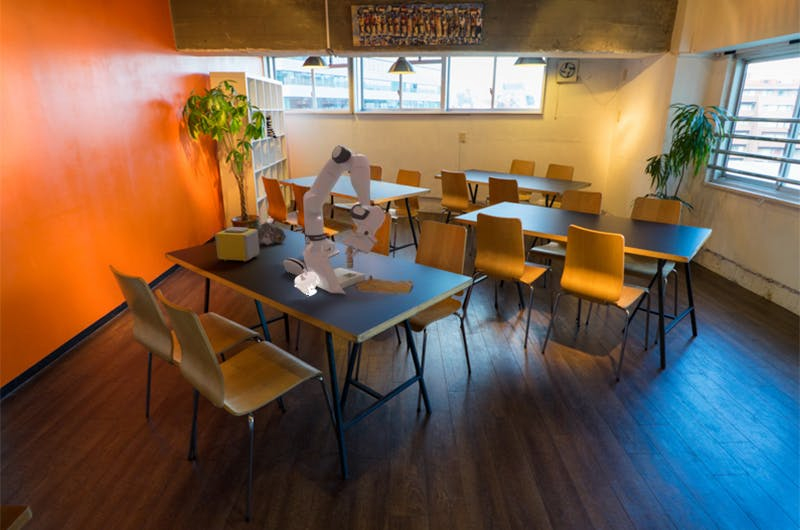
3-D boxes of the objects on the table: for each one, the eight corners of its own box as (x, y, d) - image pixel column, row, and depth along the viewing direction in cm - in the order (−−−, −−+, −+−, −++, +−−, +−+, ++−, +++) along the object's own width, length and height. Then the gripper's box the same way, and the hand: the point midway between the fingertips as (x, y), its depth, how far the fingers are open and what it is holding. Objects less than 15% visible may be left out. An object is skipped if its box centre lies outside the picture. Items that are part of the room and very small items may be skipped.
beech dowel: (350, 265, 234) (349, 245, 231) (354, 266, 232) (354, 246, 229) (345, 267, 232) (344, 247, 229) (350, 268, 230) (349, 248, 227)
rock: (267, 221, 292) (265, 212, 304) (252, 237, 294) (251, 228, 306) (289, 237, 302) (286, 228, 314) (275, 253, 304) (273, 243, 316)
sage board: (340, 272, 246) (340, 267, 245) (364, 279, 236) (364, 274, 235) (315, 281, 233) (314, 275, 232) (340, 289, 222) (339, 283, 221)
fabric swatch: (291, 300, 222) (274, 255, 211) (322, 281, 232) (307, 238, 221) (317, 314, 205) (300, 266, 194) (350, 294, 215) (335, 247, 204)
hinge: (312, 276, 241) (305, 260, 236) (305, 280, 238) (298, 265, 233) (293, 269, 252) (287, 254, 246) (287, 273, 249) (280, 258, 244)
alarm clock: (261, 256, 276) (258, 226, 270) (248, 264, 261) (245, 232, 255) (231, 254, 279) (228, 225, 273) (217, 262, 264) (213, 231, 259)
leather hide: (346, 292, 222) (345, 283, 220) (381, 274, 241) (381, 266, 239) (391, 313, 207) (391, 303, 205) (425, 292, 226) (425, 283, 224)
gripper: (349, 226, 238) (334, 247, 236) (371, 234, 223) (355, 256, 220) (356, 233, 242) (341, 254, 240) (379, 241, 227) (363, 263, 224)
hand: (348, 255), depth 230 cm, fingers closed on beech dowel, 3 cm apart
